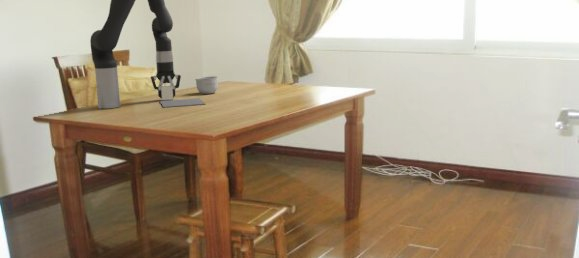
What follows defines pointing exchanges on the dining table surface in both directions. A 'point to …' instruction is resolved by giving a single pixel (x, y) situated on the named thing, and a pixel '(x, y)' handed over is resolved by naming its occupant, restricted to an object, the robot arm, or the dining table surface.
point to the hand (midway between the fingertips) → (167, 97)
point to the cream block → (167, 92)
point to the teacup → (207, 84)
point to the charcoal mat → (182, 102)
